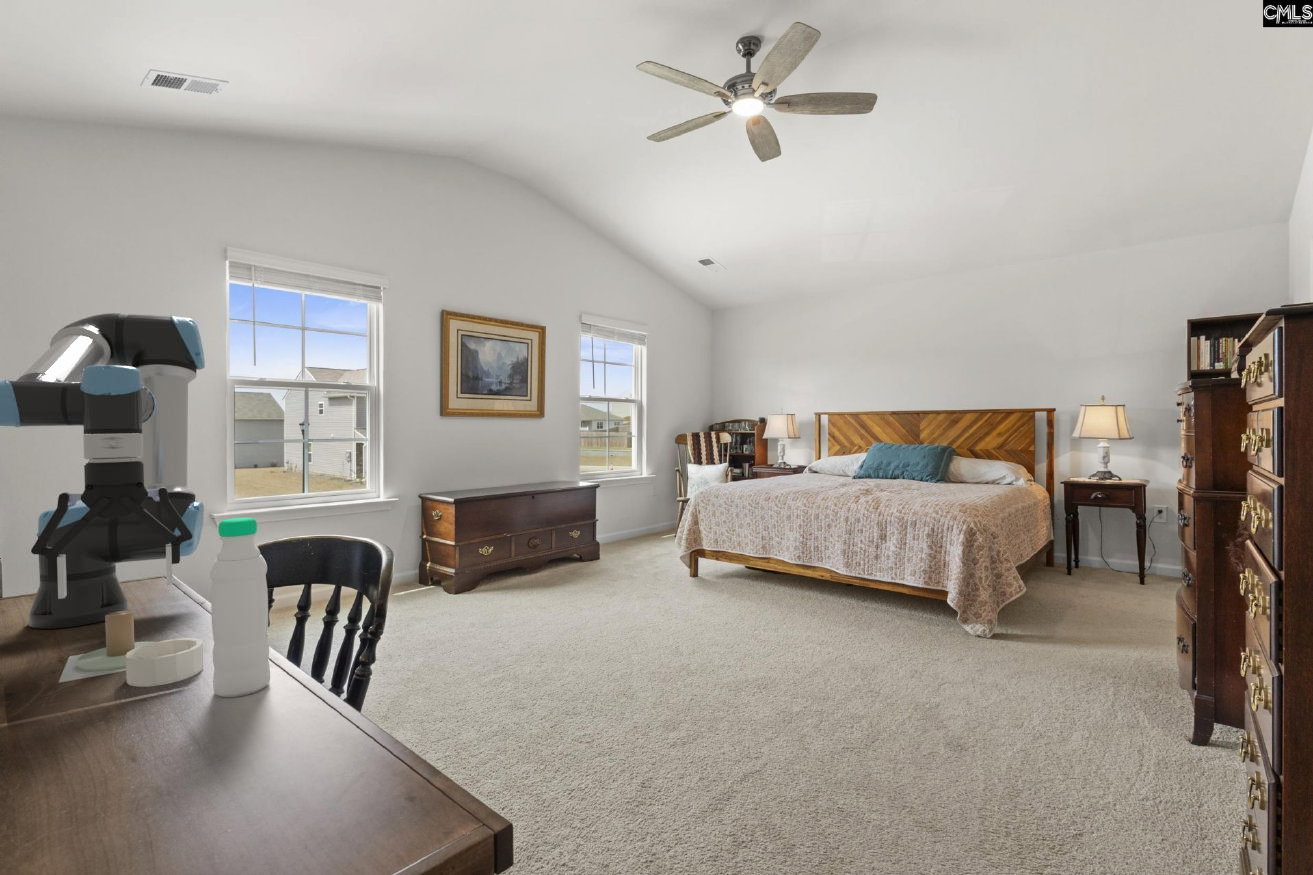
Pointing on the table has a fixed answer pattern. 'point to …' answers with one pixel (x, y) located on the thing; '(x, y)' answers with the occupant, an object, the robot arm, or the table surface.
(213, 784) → the table surface
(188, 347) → the robot arm
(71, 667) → the mat
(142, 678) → the bowl
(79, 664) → the lid
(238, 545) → the water bottle
